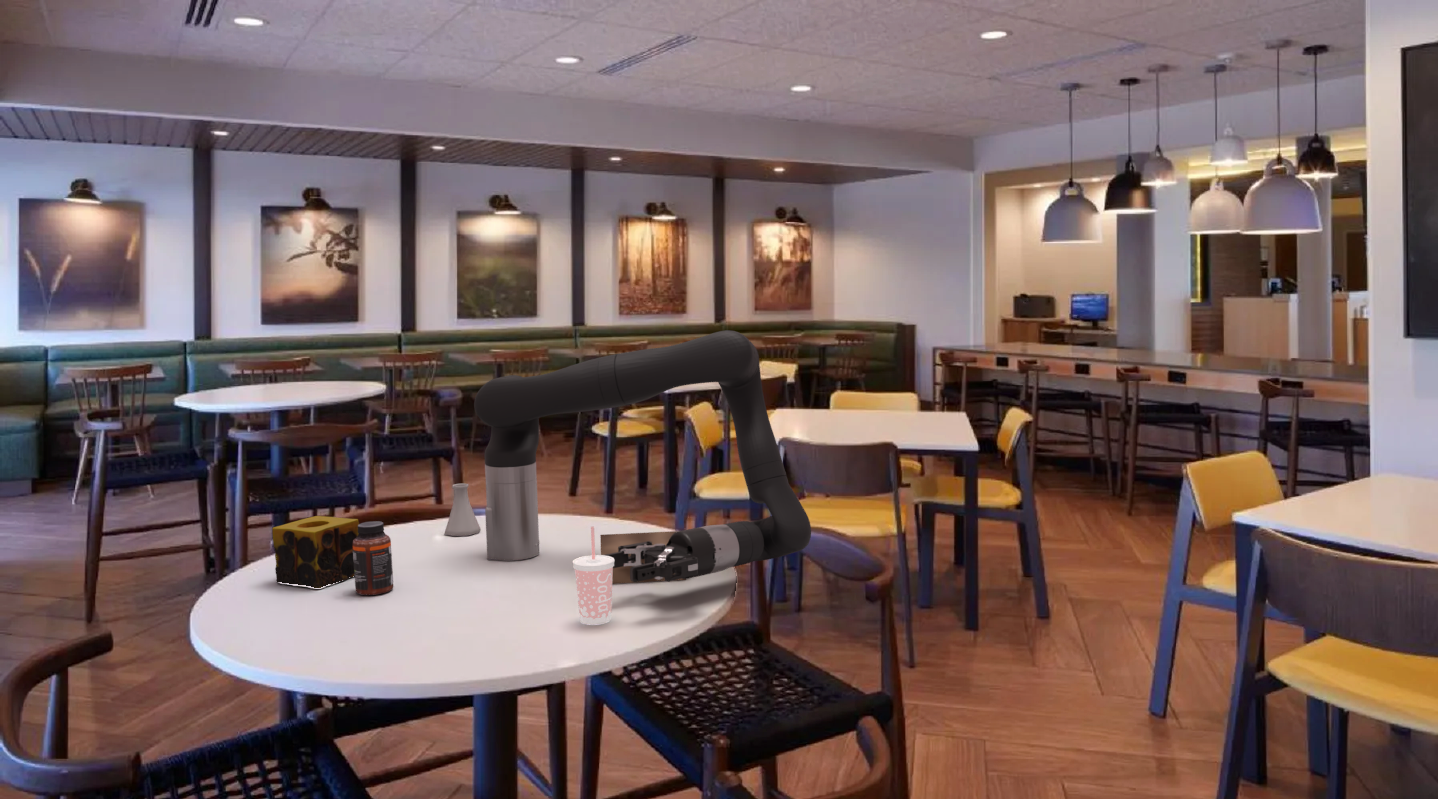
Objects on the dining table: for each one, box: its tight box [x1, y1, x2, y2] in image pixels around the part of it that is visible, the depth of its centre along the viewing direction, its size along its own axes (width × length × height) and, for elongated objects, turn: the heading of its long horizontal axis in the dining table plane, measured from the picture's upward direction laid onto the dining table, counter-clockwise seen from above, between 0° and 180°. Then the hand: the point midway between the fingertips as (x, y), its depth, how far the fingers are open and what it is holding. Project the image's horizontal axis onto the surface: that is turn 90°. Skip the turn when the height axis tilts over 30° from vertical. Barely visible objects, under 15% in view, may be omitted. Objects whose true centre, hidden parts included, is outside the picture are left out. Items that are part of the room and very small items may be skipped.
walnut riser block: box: [599, 530, 687, 585], centre depth 171 cm, size 14×14×5 cm
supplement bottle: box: [353, 520, 394, 596], centre depth 162 cm, size 6×6×11 cm
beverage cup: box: [572, 526, 615, 626], centre depth 145 cm, size 6×6×14 cm
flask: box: [443, 482, 481, 537], centre depth 202 cm, size 7×7×10 cm
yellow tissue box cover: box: [271, 515, 360, 588], centre depth 170 cm, size 10×10×10 cm
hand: (616, 568), depth 148 cm, fingers open, 8 cm apart
